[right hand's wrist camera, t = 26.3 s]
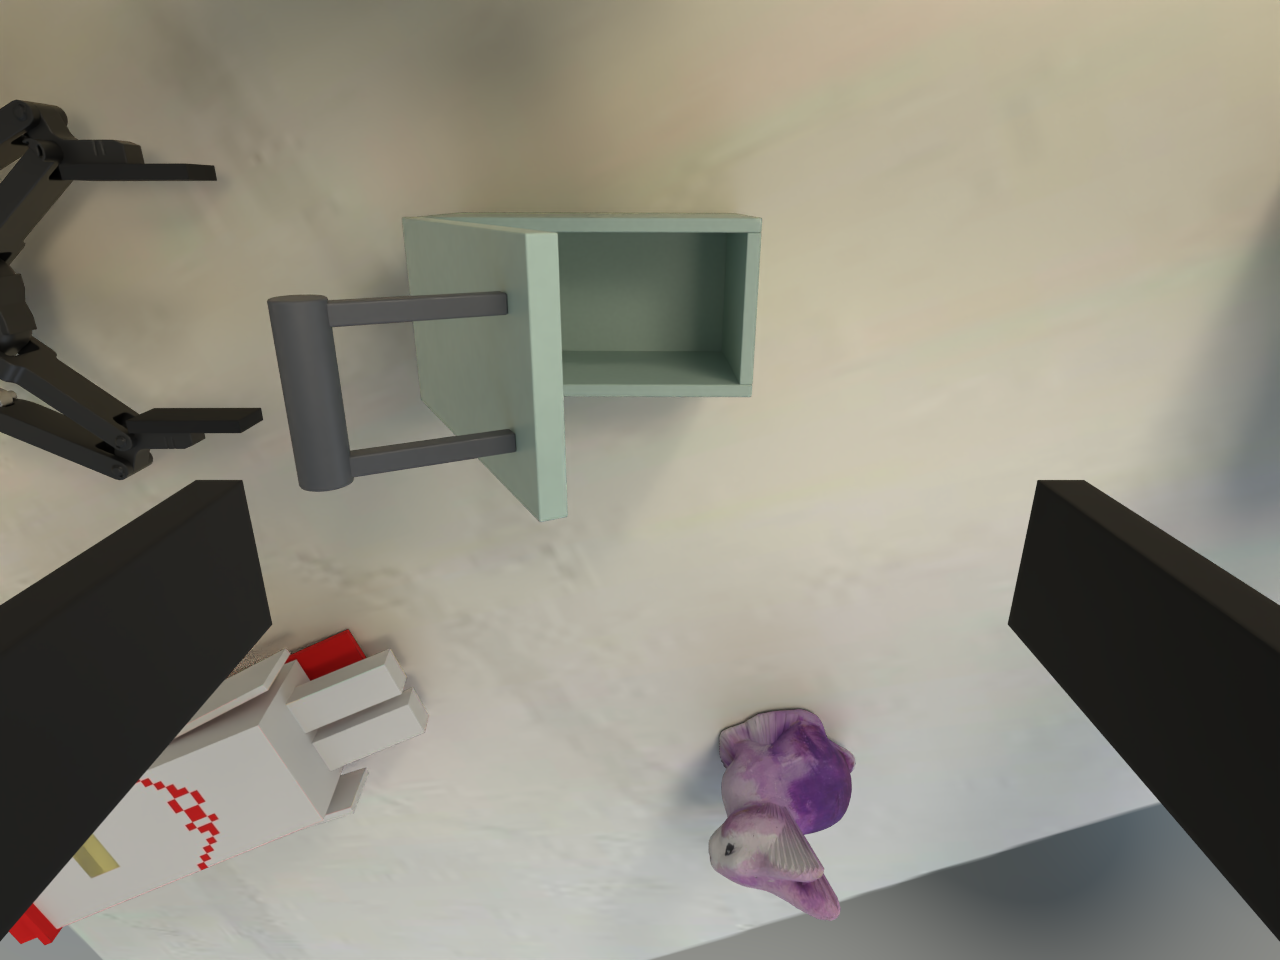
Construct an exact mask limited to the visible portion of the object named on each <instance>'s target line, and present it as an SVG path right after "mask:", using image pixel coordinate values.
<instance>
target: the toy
mask: <svg viewBox="0 0 1280 960" xmlns="http://www.w3.org/2000/svg"><path fill="white" fill-rule="evenodd" d="M406 679H407V676H406V675H405V673H404V671H403V670H402V668H401V666H400V664H399V663H398V661H397V659H396V658H395V656H394V654H393V652H392V651H391V649H388V650H385V651H383V652H380V653H378V654H375V655H373V656H370V657H368V658H366V656H365V655H364V653H363V652H362V650H361V648H360V647H359V645H358V644H357V642H356V641H355V639H354V637H353V636H352V634H351V633H350V631H349V630H345V631H343V632H341V633H339V634H336V635H334V636H332V637H330V638H327V639H325V640H323V641H321V642H318V643H316V644H314V645H312V646H309V647H307V648H305V649H303V650H300V651H298V652H296V653H294V654H291V655H290V652H289V651H288V650H287V649H286V648H285V649H283V650H281V651H279V652H277V653H276V654H274V655H272V656H270V657H268V658H266V659H264V660H262V661H260V662H258V663H256V664H254V665H252V666H251V667H249V668H247V669H245V670H243V671H241V672H239V673H237V674H235V675H233V676H231V677H229V678H227V679H226V680H224V681H223V682H222V683H221V685H220V686H219V687H218V688H217V689H216V690H215V692H214V693H213V694H212V695H211V696H210V697H209V699H208V700H207V701H206V702H205V703H204V704H203V706H202V707H201V708H200V709H199V710H198V711H197V713H196V714H195V715H194V716H193V717H192V718H191V720H190V721H189V722H188V723H187V724H186V725H185V727H184V728H183V729H182V730H181V731H180V732H179V734H178V735H177V736H176V737H175V738H174V739H173V741H172V742H171V743H170V744H169V745H168V746H167V748H166V749H165V750H164V751H163V752H162V753H161V755H160V756H159V757H158V758H157V759H156V760H155V762H154V763H153V764H152V765H151V766H150V767H149V769H148V770H147V771H146V772H145V773H144V774H143V776H142V777H141V778H140V779H139V780H138V781H137V783H136V784H135V785H134V786H133V787H132V788H131V790H130V791H129V792H128V793H127V794H126V795H125V797H124V798H123V799H122V800H121V801H120V802H119V803H118V805H117V806H116V807H115V808H114V809H113V810H112V812H111V813H110V814H109V815H108V816H107V817H106V819H105V820H104V821H103V822H102V823H101V824H100V826H99V827H98V828H97V829H96V830H95V831H94V833H93V834H92V835H91V836H90V837H89V838H88V840H87V841H86V842H85V843H84V844H83V845H82V847H81V848H80V849H79V850H78V851H77V852H76V854H75V855H74V856H73V857H72V858H71V859H70V861H69V862H68V863H67V864H66V865H65V866H64V868H63V869H62V870H61V871H60V872H59V873H58V875H57V876H56V877H55V878H54V879H53V880H52V882H51V883H50V884H49V885H48V886H47V887H46V889H45V890H44V891H43V892H42V893H41V894H40V896H39V897H38V898H37V899H36V900H35V901H34V903H33V904H32V905H31V906H30V907H29V908H28V910H27V911H26V912H25V913H24V914H23V915H22V917H21V918H20V919H19V920H18V921H17V922H16V924H15V925H14V926H13V927H12V928H11V929H10V931H9V932H10V933H11V934H12V935H13V936H14V937H15V938H16V940H17V941H18V942H19V943H20V944H22V943H24V942H27V941H29V940H32V939H34V938H38V939H39V940H40V941H41V942H42V943H43V944H44V945H47V944H49V943H52V942H53V940H54V939H55V937H56V936H57V934H58V933H59V932H60V930H61V929H62V927H64V926H66V925H69V924H71V923H73V922H76V921H78V920H81V919H83V918H86V917H88V916H91V915H93V914H95V913H98V912H100V911H103V910H105V909H108V908H110V907H113V906H115V905H117V904H120V903H122V902H125V901H127V900H130V899H132V898H135V897H137V896H139V895H142V894H144V893H147V892H149V891H152V890H154V889H157V888H159V887H161V886H164V885H166V884H169V883H171V882H174V881H176V880H179V879H181V878H183V877H186V876H188V875H191V874H193V873H196V872H198V871H201V870H203V869H205V868H208V867H210V866H213V865H215V864H218V863H220V862H222V861H225V860H227V859H230V858H232V857H235V856H237V855H240V854H242V853H244V852H247V851H249V850H252V849H254V848H257V847H259V846H262V845H264V844H266V843H269V842H271V841H274V840H276V839H279V838H281V837H284V836H286V835H288V834H291V833H293V832H296V831H298V830H302V829H305V828H308V827H311V826H314V825H318V824H321V823H324V822H327V821H330V820H333V819H337V818H340V817H343V816H346V815H349V814H353V813H354V811H355V809H356V806H357V803H358V801H359V798H360V795H361V792H362V790H363V787H364V784H365V782H366V779H367V776H368V774H369V772H368V770H367V768H363V769H360V770H357V771H354V772H350V773H347V774H344V775H341V772H342V769H343V767H344V765H347V764H349V763H351V762H354V761H356V760H359V759H361V758H364V757H366V756H369V755H371V754H373V753H376V752H378V751H381V750H383V749H386V748H388V747H391V746H393V745H395V744H398V743H400V742H403V741H405V740H408V739H410V738H413V737H415V736H417V735H420V734H422V733H425V730H426V725H427V721H428V717H429V714H428V712H427V711H426V709H425V707H424V705H423V704H422V702H421V700H420V699H419V697H418V695H417V694H416V692H415V690H414V688H413V687H412V688H410V689H408V690H405V691H403V688H404V685H405V682H406ZM340 775H341V776H340Z"/></svg>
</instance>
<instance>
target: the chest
mask: <svg viewBox="0 0 1280 960" xmlns="http://www.w3.org/2000/svg"><path fill="white" fill-rule="evenodd" d="M421 217H425V218H434V219H442V220H451V221H460V222H469V223H478V224H486V225H495V226H504V227H513V228H521V229H530V230H539V231H548V232H556V233H557V234H558V255H559V284H560V312H561V341H562V370H563V397H751V396H752V382H753V365H754V348H755V331H756V314H757V297H758V280H759V263H760V246H761V229H762V218H758V217H753V216H747V215H742V214H722V213H452V214H442V215H431V216H421Z"/></svg>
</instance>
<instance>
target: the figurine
mask: <svg viewBox="0 0 1280 960" xmlns="http://www.w3.org/2000/svg"><path fill="white" fill-rule="evenodd" d="M719 742H720V746H719V747H720V751H719V752H720V758H721V761H722V762H723V763H724V767H725V768H726V771H725V773H724V775H723V778H722V786H721V790H722V799H723V803H724V806H725V810H726V812H727V817H728V818H727V819H726V821H725V822H724V823H723V824H722V825H721V826H720V827H719V828H718V829H717V830H716V831H715V832H714V834H713V835H712V836H711V837H710V840H709V855H710V862H711V865H712V867H713V868H714V870H715V871H717V872H718V873H720V874H722V875H723V876H725V877H726V878H728V879H730V880H731V881H733V882H735V883H737V884H740V885H742V886H745V887H750V888H756V889H760V890H765V891H768V892H770V893H773V894H775V895H776V896H778V897H780V898H782V899H784V900H785V901H787V902H789V903H790V904H792V905H793V906H795V907H796V908H798V909H800V910H802V911H803V912H805V913H807V914H809V915H810V916H813V917H815V918H817V919H821V920H829V921H831V920H834V919H836V918H837V917H838V916H839V914H840V905H839V901H838V898H837V896H836V894H835V893H834V891H833V889H832V888H831V886H830V884H829V882H828V881H827V879H826V877H825V875H824V874H823V872H824V868H823V866H822V864H821V863H820V861H819V859H818V858H817V856H816V854H815V853H814V851H813V849H812V848H811V846H810V844H809V843H808V841H807V839H806V838H805V836H804V835H805V834H810V833H814V832H818V831H821V830H824V829H826V828H828V827H830V826H832V825H834V824H835V823H837V822H838V821H839V820H840V819H841V818H842V817H843V815H844V814H845V812H846V810H847V808H848V805H849V802H850V798H851V791H852V784H851V776H850V773H851V772H852V771H853V769H854V767H855V764H856V763H855V758H854V756H853V754H852V753H851V752H850V751H848V750H847V749H845V748H843V747H841V746H839V745H837V744H836V743H834V742H832V741H831V740H829V739H828V738H827V736H826V733H825V730H824V727H823V725H822V722H821V720H820V719H819V717H818V716H816V715H815V714H813V713H811V712H808V711H806V710H803V709H795V710H781V711H771V712H766V713H762V714H757V715H756V716H754V717H752V718H750V719H749V720H747V721H746V722H745V723H741V724H739V725H736V726H734V727H730V728H728V729H726V730H724V731H722V732H721V735H720V737H719Z"/></svg>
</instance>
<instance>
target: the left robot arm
mask: <svg viewBox="0 0 1280 960" xmlns="http://www.w3.org/2000/svg"><path fill="white" fill-rule="evenodd" d="M67 123H68V120H67V116H66V114H65V112H64V111H63V110H62V109H61V108H59V107H57V106H53V105H47V104H41V103H35V102H29V101H21V100H14V101H12V102H10V103H9V104H7V105H6V106H4V107H3V108H1V109H0V170H1V169H3V168H4V167H6V166H7V165H9V164H11V163H12V162H14V161H15V160H17V159H18V158H20V157H21V156H22V157H21V159H20V160H19V161H18V162H17V164H16V165H15V166H14V167H13V169H12V170H11V171H10V172H9V174H8V175H7V176H6V177H5V179H4V180H3V181H2V182H1V184H0V379H1V380H3V381H6V382H12V383H16V384H18V385H20V386H21V387H23V388H24V389H26V390H27V391H29V392H30V393H32V394H33V395H35V396H36V397H38V398H39V399H41V400H43V401H44V402H46V403H47V404H49V405H50V406H52V407H53V408H55V409H56V410H58V411H59V412H61V413H62V414H61V413H58V412H56V411H53V410H51V409H49V408H46V407H44V406H42V405H39V404H36V403H34V402H30V401H26V400H22V399H16V398H17V395H16V393H15V392H14V391H6V390H4V389H1V388H0V432H2V433H4V434H7V435H9V436H12V437H14V438H17V439H19V440H21V441H24V442H26V443H29V444H31V445H34V446H36V447H39V448H41V449H43V450H46V451H48V452H51V453H53V454H56V455H58V456H60V457H63V458H65V459H68V460H70V461H73V462H75V463H78V464H80V465H82V466H85V467H87V468H90V469H92V470H95V471H97V472H99V473H102V474H104V475H107V476H109V477H112V478H114V479H117V480H123V479H125V478H127V477H129V476H131V475H133V474H135V473H136V472H138V471H140V470H142V469H144V468H145V467H147V466H149V465H150V464H151V463H152V462H153V457H152V454H151V453H150V452H149V451H150V449H168V448H169V449H175V448H176V449H185V448H188V447H190V446H192V445H194V444H196V443H198V442H200V441H201V440H203V439H205V434H204V433H242V432H243V431H245V430H247V429H249V428H250V427H252V426H254V425H255V424H257V423H259V422H260V421H262V420H263V417H262V412H261V408H154V409H151V410H149V411H147V412H145V413H142V414H138V413H137V412H135V411H134V410H132V409H131V408H129V407H128V406H126V405H125V404H123V403H122V402H120V401H119V400H117V399H116V398H114V397H113V396H111V395H110V394H108V393H107V392H105V391H104V390H102V389H101V388H100V387H98V386H97V385H95V384H94V383H92V382H91V381H89V380H88V379H86V378H85V377H83V376H82V375H80V374H79V373H77V372H76V371H74V370H73V369H71V368H70V367H68V366H67V365H65V364H64V363H62V362H61V361H59V360H58V359H57V358H56V356H57V354H56V352H54V351H53V350H52V349H50V348H49V347H47V346H46V345H44V344H43V343H42V342H40V341H39V340H37V339H36V338H34V337H33V336H31V335H32V330H34V329H37V328H36V324H35V321H34V318H33V315H32V313H31V311H30V310H29V308H28V306H27V304H26V302H25V287H24V283H23V280H22V277H21V274H15V272H14V271H13V269H12V268H11V267H10V266H9V264H10V263H11V262H12V261H13V260H14V258H15V257H16V256H17V255H18V254H19V252H20V251H21V250H22V249H23V248H24V246H25V243H24V242H23V240H24V239H25V238H26V236H27V235H28V234H29V233H30V232H31V230H32V229H33V228H34V227H35V226H36V224H37V223H38V222H39V221H40V220H41V218H42V217H43V216H44V215H45V214H46V212H47V211H48V210H49V209H50V208H51V206H52V205H53V204H54V203H55V202H56V200H57V199H58V198H59V197H60V196H61V194H62V193H63V192H64V191H65V190H66V188H67V187H68V186H69V185H70V184H71V182H72V181H73V180H84V181H217V178H216V173H215V168H214V166H211V165H198V164H144V160H143V155H142V151H141V146H140V145H137V144H135V143H132V142H128V141H119V140H78V139H76V138H75V137H74V136H73V135H72V134H71V133H70V131H69V130H68V128H67ZM17 353H18V354H19V355H17V356H15V355H16V354H17ZM63 414H64V415H63Z"/></svg>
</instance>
